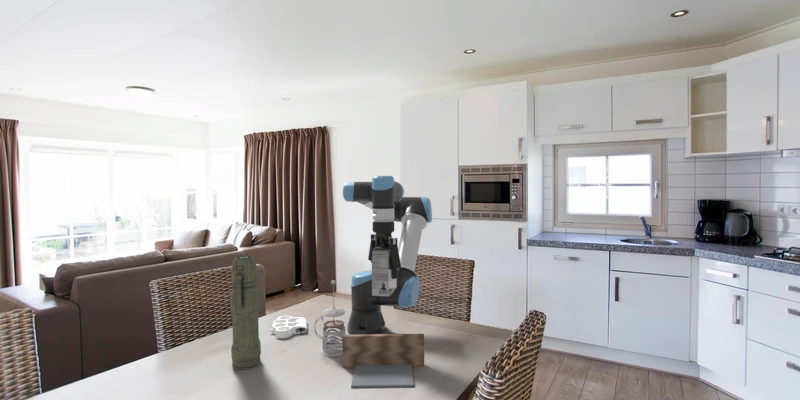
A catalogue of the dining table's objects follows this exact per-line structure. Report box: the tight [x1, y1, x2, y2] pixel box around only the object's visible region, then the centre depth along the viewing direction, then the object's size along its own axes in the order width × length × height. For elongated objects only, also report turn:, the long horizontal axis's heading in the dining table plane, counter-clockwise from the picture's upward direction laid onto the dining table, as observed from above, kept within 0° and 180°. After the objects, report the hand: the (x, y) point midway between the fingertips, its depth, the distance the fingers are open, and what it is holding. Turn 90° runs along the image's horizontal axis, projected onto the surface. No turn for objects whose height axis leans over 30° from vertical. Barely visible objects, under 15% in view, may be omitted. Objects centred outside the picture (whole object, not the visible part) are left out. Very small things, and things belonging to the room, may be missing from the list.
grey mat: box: [350, 365, 415, 389], centre depth 122 cm, size 18×13×1 cm
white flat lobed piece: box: [268, 315, 308, 339], centre depth 161 cm, size 3×18×15 cm
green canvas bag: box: [229, 255, 262, 370], centre depth 130 cm, size 9×12×35 cm
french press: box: [313, 279, 346, 358], centre depth 140 cm, size 10×12×25 cm
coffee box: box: [371, 246, 395, 296], centre depth 138 cm, size 9×6×16 cm
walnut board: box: [341, 333, 425, 368], centre depth 128 cm, size 26×2×10 cm, turn 91°
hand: (384, 284), depth 139 cm, fingers closed on coffee box, 10 cm apart
